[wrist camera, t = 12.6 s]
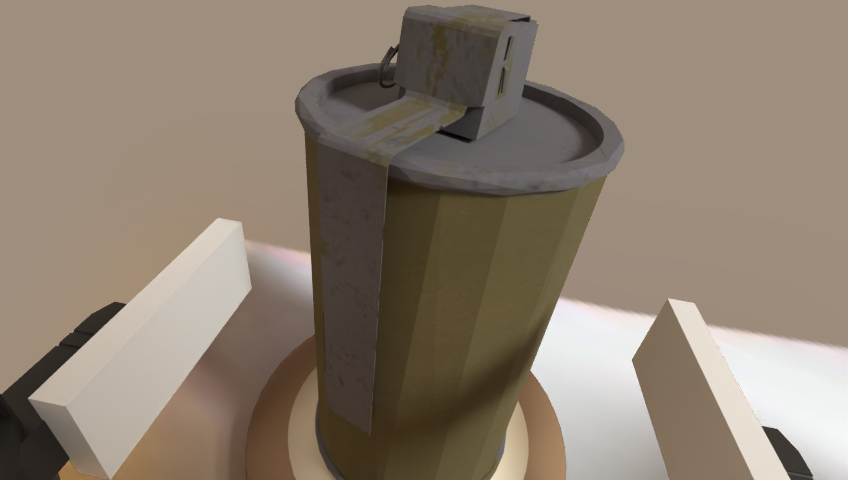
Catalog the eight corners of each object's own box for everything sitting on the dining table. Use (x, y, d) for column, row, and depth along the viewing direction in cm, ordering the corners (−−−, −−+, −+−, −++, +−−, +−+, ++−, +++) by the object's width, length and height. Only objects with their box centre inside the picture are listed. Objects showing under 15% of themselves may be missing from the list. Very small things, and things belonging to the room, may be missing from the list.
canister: (388, 319, 30) (417, -16, 18) (531, 395, 26) (679, 32, 15) (265, 444, 22) (180, -11, 10) (445, 581, 18) (625, 97, 7)
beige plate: (541, 346, 31) (547, 331, 30) (583, 667, 17) (597, 656, 16) (313, 307, 32) (312, 291, 31) (177, 585, 18) (168, 571, 17)
